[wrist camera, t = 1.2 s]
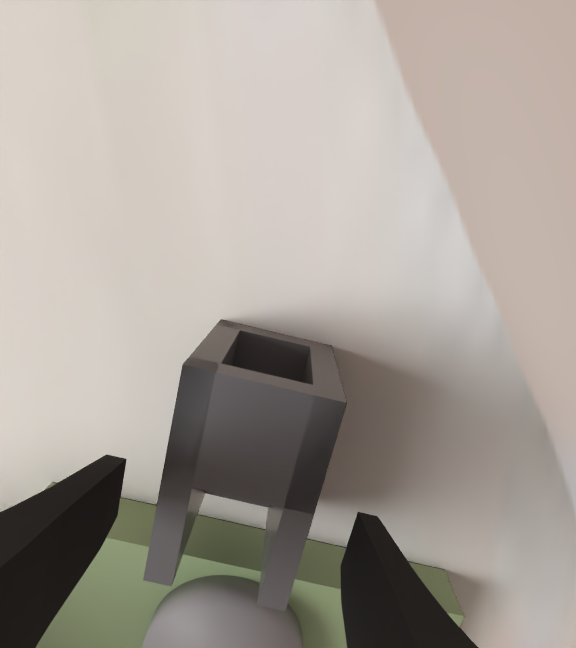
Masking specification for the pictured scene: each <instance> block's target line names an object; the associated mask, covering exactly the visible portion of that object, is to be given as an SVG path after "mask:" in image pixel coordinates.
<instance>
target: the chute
mask: <svg viewBox="0 0 576 648" xmlns="http://www.w3.org/2000/svg"><path fill="white" fill-rule="evenodd" d="M346 404H347V402H346V398H345V394H344V390H343V387H342V383H341V379H340V375H339V372H338V368H337V364H336V360H335V356H334V353H333V349H332V346H331V345H326V344H322V343H318V342H314V341H309V340H305V339H301V338H297V337H292V336H288V335H284V334H280V333H276V332H271V331H267V330H263V329H259V328H254V327H250V326H246V325H242V324H238V323H233V322H229V321H225V320H220V321H219V322H218V324H217V325H216V326H215V327H214V328H213V329H212V331H211V332H210V333H209V334H208V335H207V337H206V338H205V339H204V340H203V341H202V342H201V344H200V345H199V346H198V347H197V348H196V350H195V351H194V352H193V353H192V354H191V355H190V357H189V358H188V359H187V360H186V361H185V362H184V364H183V366H182V371H181V377H180V382H179V387H178V393H177V398H176V404H175V409H174V415H173V420H172V425H171V431H170V436H169V442H168V447H167V453H166V458H165V463H164V469H163V474H162V480H161V485H160V491H159V496H158V501H157V507H156V512H155V518H154V523H153V529H152V534H151V539H150V545H149V550H148V556H147V561H146V567H145V572H144V577H143V580H144V581H148V582H153V583H157V584H162V585H167V586H171V587H172V584H173V581H174V579H175V576H176V573H177V570H178V567H179V565H180V562H181V559H182V556H183V553H184V551H185V548H186V545H187V542H188V539H189V537H190V534H191V531H192V528H193V525H194V523H195V520H196V517H197V514H198V511H199V508H200V506H201V503H202V500H203V497H204V494H205V493H207V494H211V495H216V496H220V497H225V498H229V499H233V500H238V501H242V502H247V503H251V504H256V505H260V506H265V507H268V514H267V522H266V531H265V540H264V549H263V558H262V567H261V575H260V584H259V593H258V602H257V605H258V606H263V607H268V608H272V609H277V610H281V611H286V608H287V604H288V601H289V597H290V594H291V591H292V587H293V584H294V580H295V577H296V574H297V570H298V567H299V563H300V560H301V557H302V553H303V550H304V546H305V543H306V540H307V536H308V533H309V529H310V526H311V523H312V519H313V516H314V513H315V509H316V506H317V502H318V499H319V496H320V492H321V489H322V485H323V482H324V479H325V475H326V472H327V468H328V465H329V462H330V458H331V455H332V451H333V448H334V445H335V441H336V438H337V434H338V431H339V428H340V424H341V421H342V417H343V414H344V411H345V407H346Z"/></svg>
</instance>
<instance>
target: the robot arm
mask: <svg viewBox="0 0 576 648" xmlns="http://www.w3.org/2000/svg"><path fill="white" fill-rule="evenodd" d="M125 465H126V459H124V458H119V457H115V456H110V455H105V456H103V457H102V458H100V459H98V460H96V461H95V462H93V463H91V464H89V465H88V466H86V467H84V468H83V469H81V470H79V471H78V472H76V473H74V474H72V475H71V476H69V477H67V478H66V479H64V480H62V481H60V482H58V483H57V484H55V485H53V486H51V487H50V488H48V489H46V490H44V491H42V492H40V493H38V494H36V495H34V496H32V497H30V498H29V499H27V500H25V501H23V502H21V503H19V504H17V505H15V506H13V507H11V508H9V509H6V510H4V511H2V512H0V648H36V646H37V644H38V643H39V641H40V639H41V638H42V636H43V635H44V633H45V631H46V630H47V628H48V627H49V625H50V623H51V622H52V620H53V619H54V618H55V616H56V615H57V613H58V612H59V610H60V609H61V607H62V606H63V604H64V603H65V601H66V600H67V598H68V597H69V595H70V594H71V592H72V591H73V589H74V588H75V586H76V585H77V583H78V582H79V580H80V579H81V577H82V576H83V574H84V573H85V571H86V570H87V568H88V567H89V565H90V564H91V562H92V561H93V559H94V558H95V556H96V555H97V553H98V552H99V550H100V549H101V547H102V545H103V543H104V541H105V539H106V537H107V536H108V534H109V532H110V530H111V528H112V526H113V524H114V522H115V520H116V518H117V516H118V509H119V503H120V497H121V490H122V484H123V478H124V471H125ZM340 570H341V605H342V613H343V620H344V628H345V635H346V643H347V648H478V647H477V646H476V645H475V644H474V643H473V642H472V641H471V640H470V638H469V637H468V636H467V635H466V634H465V633H464V632H463V631H462V630H461V628H460V627H459V626H458V625H457V624H456V623H455V622H454V621H453V619H452V618H451V617H450V616H449V615H448V614H447V612H446V611H445V610H444V609H443V608H442V606H441V605H440V604H439V602H438V601H437V600H436V599H435V597H434V596H433V595H432V594H431V592H430V591H429V590H428V588H427V587H426V586H425V584H424V583H423V582H422V580H421V579H420V578H419V576H418V575H417V574H416V572H415V571H414V569H413V568H412V567H411V565H410V564H409V562H408V561H407V559H406V558H405V557H404V555H403V554H402V552H401V551H400V549H399V548H398V546H397V545H396V543H395V542H394V540H393V539H392V537H391V536H390V534H389V533H388V531H387V530H386V528H385V527H384V525H383V524H382V522H381V521H380V519H379V518H378V517H377V516H373V515H369V514H365V513H360V512H358V514H357V517H356V520H355V523H354V526H353V529H352V532H351V535H350V538H349V541H348V544H347V548H346V551H345V554H344V557H343V560H342V563H341V566H340Z"/></svg>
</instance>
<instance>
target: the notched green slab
mask: <svg viewBox="0 0 576 648" xmlns="http://www.w3.org/2000/svg"><path fill="white" fill-rule="evenodd" d="M55 484H57V483H51V484H50V485H49V486H48V487H47V488H46V489H48V488H50V487H51V486H53V485H55ZM46 489H45V490H46ZM156 507H157V506H156V505H151V504H147V503H142V502H138V501H133V500H129V499H124V498H120V503H119V509H118V516H117V518H116V520H115V522H114V524H113V526H112V528H111V530H110V532H109V534H108V536H107V537H106V539H105V541H104V543H103V545H102V547H101V549H100V550H99V552H98V553H97V555H96V556H95V558H94V559H93V561H92V562H91V564H90V565H89V567H88V568H87V570H86V571H85V573H84V574H83V576H82V577H81V579H80V580H79V582H78V583H77V585H76V586H75V588H74V589H73V591H72V592H71V594H70V595H69V597H68V598H67V600H66V601H65V603H64V604H63V606H62V607H61V609H60V610H59V612H58V613H57V615H56V616H55V618H54V619H53V620H52V622H51V623H50V625H49V627H48V628H47V630H46V631H45V633H44V635H43V636H42V638H41V639H40V641H39V643H38V644H37V646H36V648H347V643H346V635H345V628H344V620H343V613H342V605H341V570H340V566H341V563H342V560H343V557H344V554H345V551H346V548H344V547H339V546H335V545H330V544H326V543H322V542H317V541H313V540H308V539H307V540H306V543H305V546H304V550H303V553H302V557H301V560H300V563H299V567H298V570H297V574H296V577H295V580H294V584H293V587H292V591H291V594H290V597H289V601H288V604H287V608H286V611H281V610H277V609H272V608H268V607H263V606H258V605H257V602H258V593H259V584H260V575H261V567H262V558H263V549H264V540H265V531H266V530H263V529H259V528H254V527H250V526H245V525H241V524H236V523H232V522H227V521H223V520H218V519H214V518H209V517H205V516H200V515H197V517H196V520H195V523H194V525H193V528H192V531H191V534H190V537H189V539H188V542H187V545H186V548H185V551H184V553H183V556H182V559H181V562H180V565H179V567H178V570H177V573H176V576H175V579H174V581H173V584H172V587H171V586H167V585H162V584H157V583H153V582H148V581H144V580H143V577H144V572H145V567H146V561H147V556H148V550H149V545H150V539H151V534H152V529H153V523H154V518H155V512H156ZM409 564H410V565H411V567H412V568H413V569H414V571H415V572H416V574H417V575H418V576H419V578H420V579H421V580H422V582H423V583H424V584H425V586H426V587H427V588H428V590H429V591H430V592H431V594H432V595H433V596H434V597H435V599H436V600H437V601H438V602H439V604H440V605H441V606H442V608H443V609H444V610H445V611H446V612H447V614H448V615H449V616H450V617H451V618H452V619H453V621H454V622H455V623H456V624H457V625H458V626H459V627H460V625H461V623H462V621H463V618H464V615H463V612H462V610H461V607H460V605H459V603H458V600H457V598H456V596H455V593H454V591H453V588H452V586H451V584H450V581H449V579H448V577H447V574H446V572H445V570H443V569H438V568H434V567H429V566H425V565H420V564H416V563H411V562H409Z"/></svg>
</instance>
